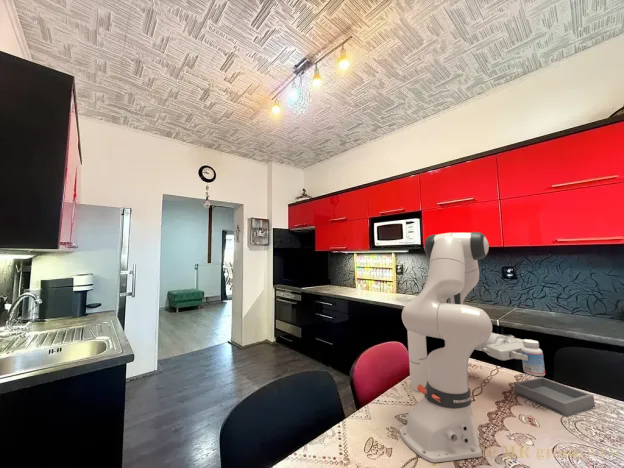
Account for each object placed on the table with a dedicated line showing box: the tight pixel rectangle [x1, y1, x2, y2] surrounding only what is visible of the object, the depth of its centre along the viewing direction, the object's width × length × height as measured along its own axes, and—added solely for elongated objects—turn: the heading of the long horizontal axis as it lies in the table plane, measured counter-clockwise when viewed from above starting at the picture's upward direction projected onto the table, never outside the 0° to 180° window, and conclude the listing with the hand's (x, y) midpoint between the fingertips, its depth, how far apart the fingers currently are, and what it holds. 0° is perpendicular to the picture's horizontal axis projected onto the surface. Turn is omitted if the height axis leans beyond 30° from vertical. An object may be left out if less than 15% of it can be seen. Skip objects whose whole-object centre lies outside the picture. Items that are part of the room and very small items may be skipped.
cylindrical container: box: [406, 329, 428, 393], centre depth 107 cm, size 7×7×25 cm
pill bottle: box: [521, 338, 546, 377], centre depth 93 cm, size 6×6×11 cm
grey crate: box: [513, 376, 596, 418], centre depth 95 cm, size 16×16×4 cm
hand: (535, 356), depth 92 cm, fingers closed on pill bottle, 6 cm apart
